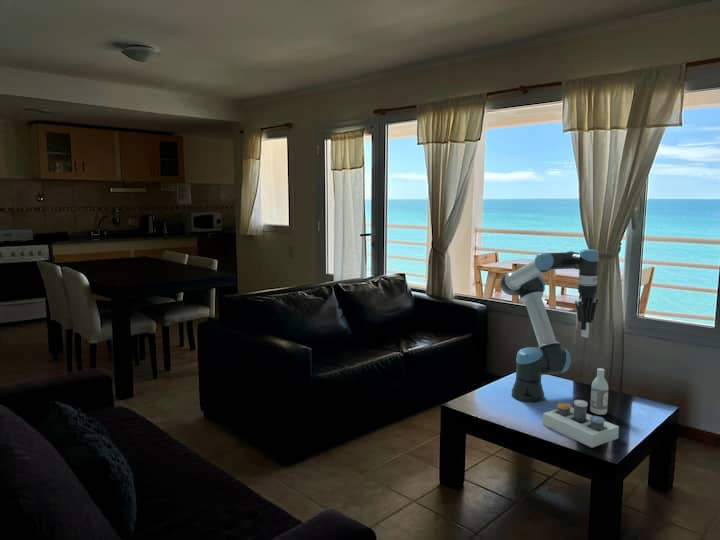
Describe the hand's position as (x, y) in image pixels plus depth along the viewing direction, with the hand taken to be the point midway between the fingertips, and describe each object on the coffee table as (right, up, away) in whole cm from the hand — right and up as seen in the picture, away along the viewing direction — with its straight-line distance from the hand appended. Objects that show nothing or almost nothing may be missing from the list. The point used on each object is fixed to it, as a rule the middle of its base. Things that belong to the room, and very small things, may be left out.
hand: (584, 336), depth 229 cm
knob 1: (-14, -36, -10) cm, 39 cm away
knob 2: (-10, -32, -17) cm, 38 cm away
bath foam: (+7, -35, +3) cm, 35 cm away
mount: (-10, -37, -17) cm, 42 cm away
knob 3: (-6, -37, -24) cm, 45 cm away
